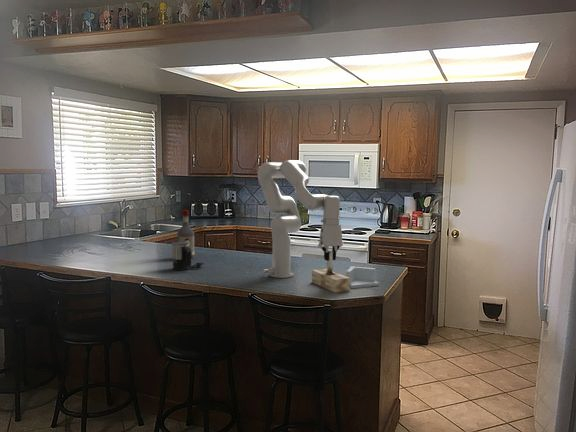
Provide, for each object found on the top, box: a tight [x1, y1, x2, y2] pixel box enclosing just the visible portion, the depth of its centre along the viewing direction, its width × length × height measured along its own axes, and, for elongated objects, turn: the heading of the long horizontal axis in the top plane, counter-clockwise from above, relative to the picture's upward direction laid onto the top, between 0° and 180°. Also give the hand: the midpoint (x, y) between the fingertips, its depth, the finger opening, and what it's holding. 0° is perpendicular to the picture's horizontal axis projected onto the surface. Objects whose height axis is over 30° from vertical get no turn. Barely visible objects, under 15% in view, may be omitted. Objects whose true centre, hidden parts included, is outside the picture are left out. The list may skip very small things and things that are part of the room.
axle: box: [326, 249, 334, 274], centre depth 228 cm, size 3×3×11 cm
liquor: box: [177, 209, 195, 260], centre depth 293 cm, size 9×9×30 cm
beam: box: [311, 268, 351, 293], centre depth 229 cm, size 8×22×6 cm, turn 25°
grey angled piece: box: [345, 265, 380, 289], centre depth 234 cm, size 17×13×8 cm
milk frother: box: [171, 241, 204, 271], centre depth 265 cm, size 14×16×15 cm
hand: (329, 259), depth 228 cm, fingers closed on axle, 3 cm apart
